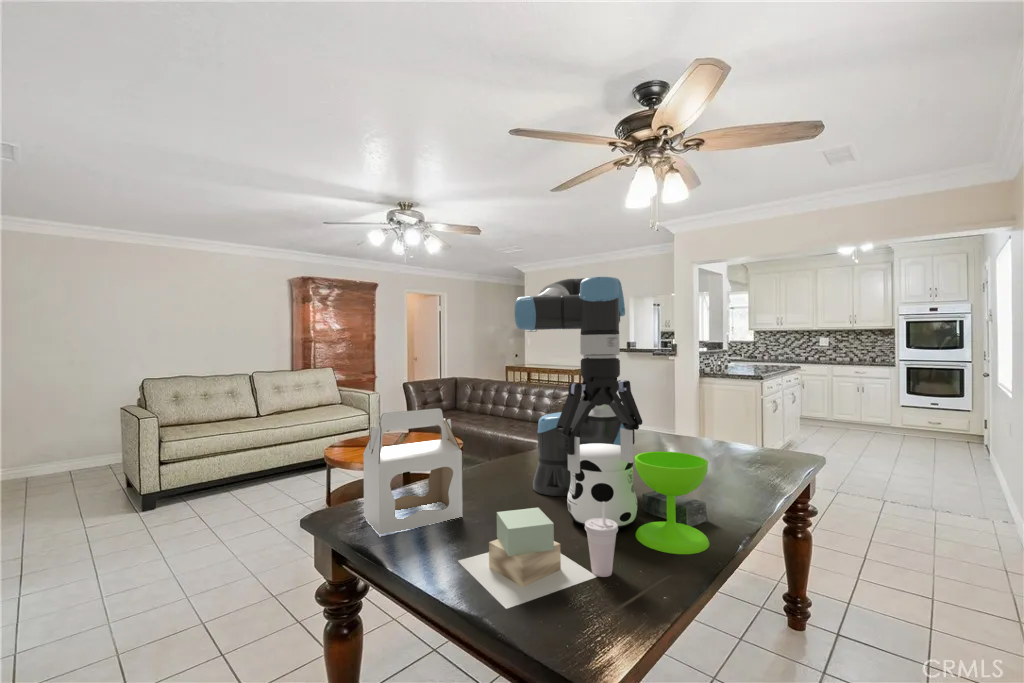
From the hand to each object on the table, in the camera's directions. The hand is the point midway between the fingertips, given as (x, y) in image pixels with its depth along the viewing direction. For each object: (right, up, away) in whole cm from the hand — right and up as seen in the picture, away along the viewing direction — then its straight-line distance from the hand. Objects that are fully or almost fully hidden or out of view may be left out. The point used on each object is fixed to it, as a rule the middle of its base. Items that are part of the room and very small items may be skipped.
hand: (601, 466), depth 88 cm
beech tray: (-15, -21, +1) cm, 25 cm away
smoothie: (0, -21, 0) cm, 21 cm away
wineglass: (+19, -21, +16) cm, 32 cm away
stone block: (+25, -21, +29) cm, 44 cm away
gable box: (-43, -22, +29) cm, 56 cm away
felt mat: (-15, -21, +1) cm, 26 cm away
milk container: (+5, -21, +26) cm, 34 cm away
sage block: (-15, -16, +1) cm, 22 cm away
